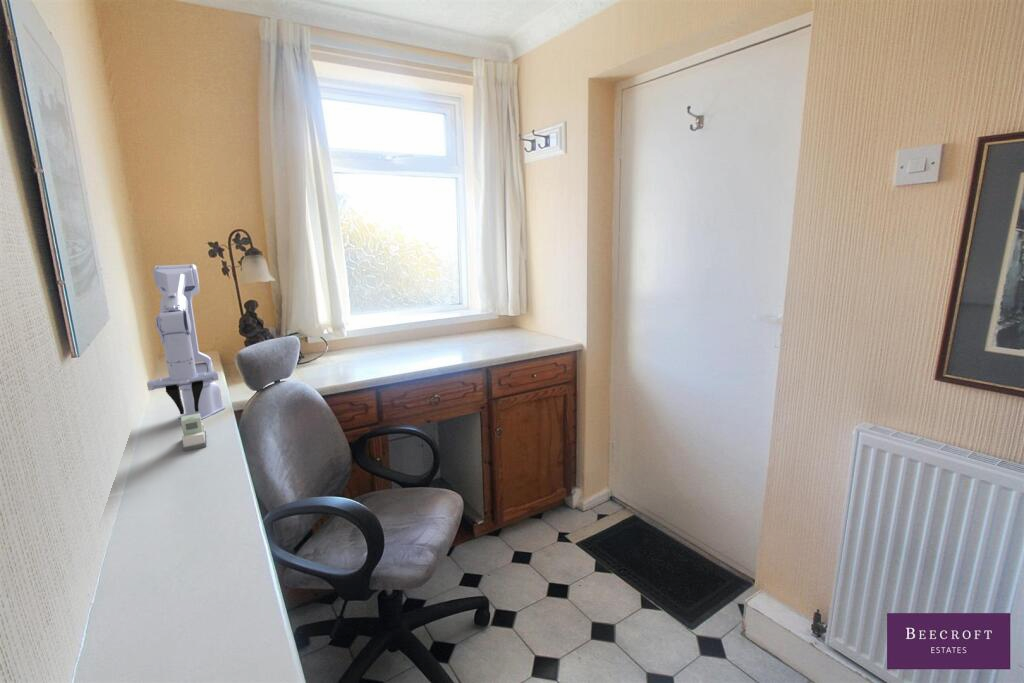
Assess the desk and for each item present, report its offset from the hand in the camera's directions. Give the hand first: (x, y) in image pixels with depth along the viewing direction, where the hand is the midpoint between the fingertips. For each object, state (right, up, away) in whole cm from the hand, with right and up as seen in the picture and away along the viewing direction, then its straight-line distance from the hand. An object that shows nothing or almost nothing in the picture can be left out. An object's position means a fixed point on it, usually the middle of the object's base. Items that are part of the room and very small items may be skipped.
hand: (189, 411), depth 121 cm
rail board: (0, -8, +2) cm, 8 cm away
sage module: (0, -7, +2) cm, 7 cm away
